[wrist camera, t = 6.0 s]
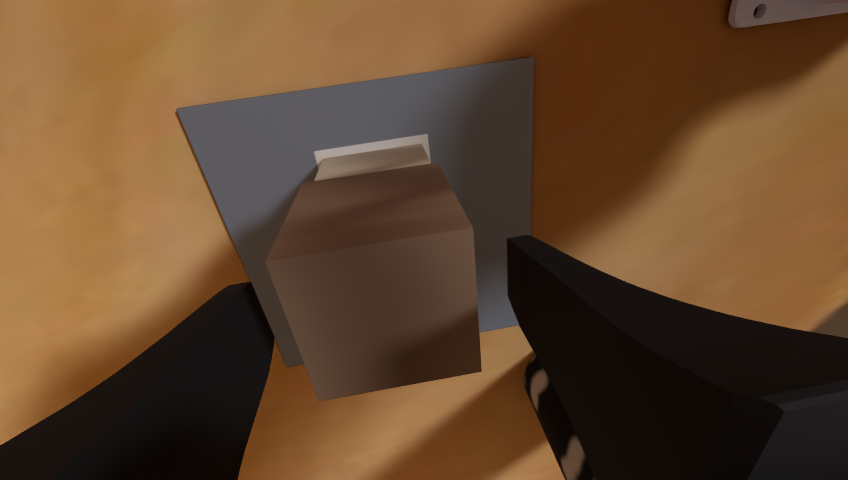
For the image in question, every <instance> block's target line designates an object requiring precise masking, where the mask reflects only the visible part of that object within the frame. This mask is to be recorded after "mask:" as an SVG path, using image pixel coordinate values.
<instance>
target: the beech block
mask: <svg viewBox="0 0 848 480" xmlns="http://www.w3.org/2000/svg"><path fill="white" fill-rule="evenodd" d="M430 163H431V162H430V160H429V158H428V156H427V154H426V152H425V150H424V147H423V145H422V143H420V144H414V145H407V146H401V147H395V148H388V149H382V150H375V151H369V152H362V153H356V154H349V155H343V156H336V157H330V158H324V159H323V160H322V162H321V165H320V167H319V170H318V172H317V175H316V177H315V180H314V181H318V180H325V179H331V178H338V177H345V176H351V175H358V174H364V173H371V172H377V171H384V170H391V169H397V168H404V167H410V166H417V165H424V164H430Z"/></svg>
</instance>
